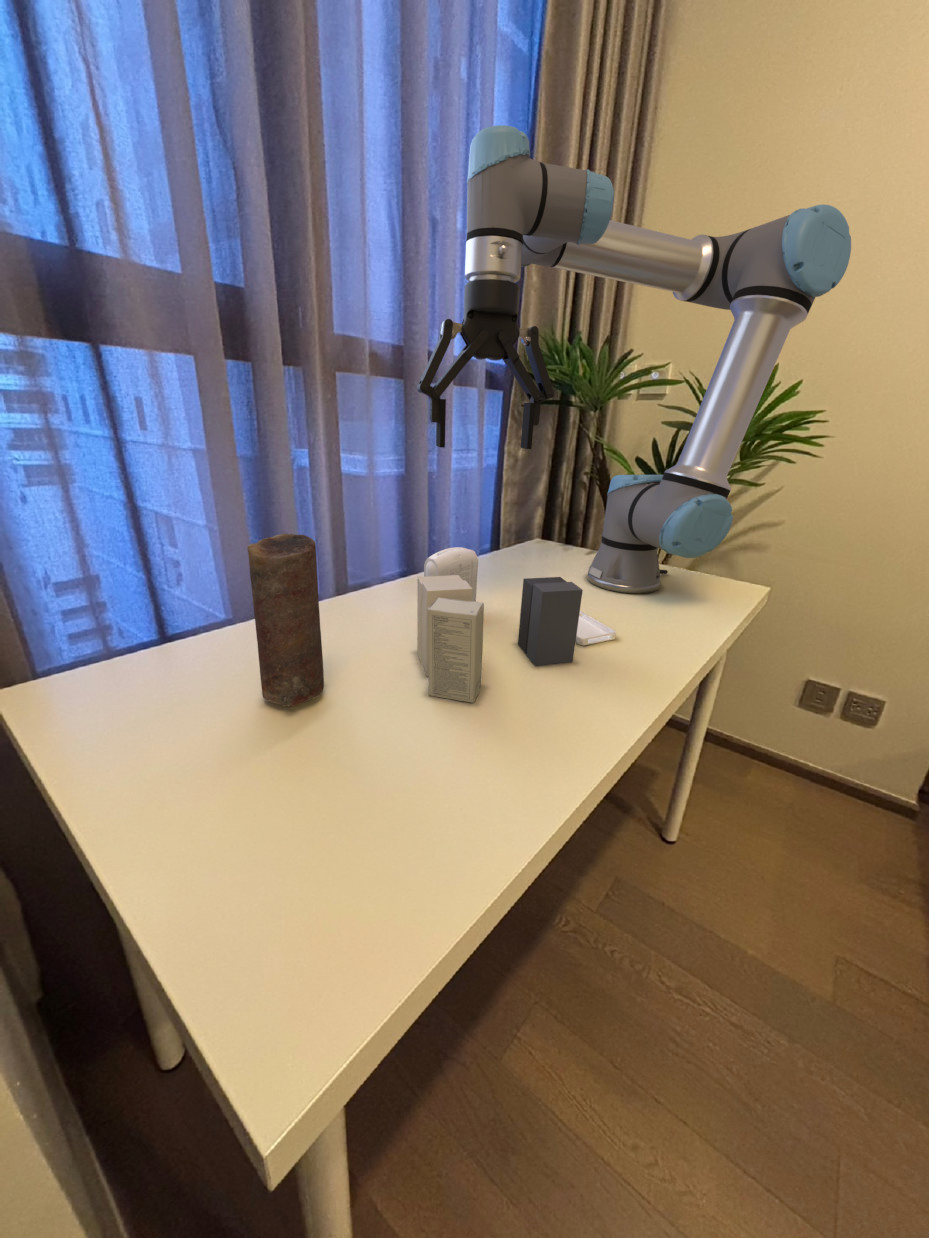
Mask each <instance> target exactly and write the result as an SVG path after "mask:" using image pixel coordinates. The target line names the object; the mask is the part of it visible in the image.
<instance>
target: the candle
mask: <svg viewBox="0 0 929 1238" xmlns="http://www.w3.org/2000/svg"><path fill="white" fill-rule="evenodd" d="M247 556H248V567H249V579H250V586H251V595H252V596H251V597H252V604H253V614H254V623H255V633H256V643H257V653H258V654H257V655H258V665H259V676H260V677H259V678H260V686H261V695H262V698H263V699H264V700H265V701H267V702H270V703H273V704H275V705H279V706H283V707H286V708H291V707H294V706H299V705H301V704H303V703H305V702H309V701H310V700H313V699H315V698H318V697H319V696H321V694H322V692H323V691H324V687H325V679H324V678H325V677H324V676H325V674H324V673H325V672H324V657H323V644H322V643H323V642H322V631H321V616H320V600H319V599H320V598H319V583H318V561H317V546H316V541H315V539H313V538H312V537H310V536H308V535H306V534H294V533H281V534H276V535H273V536H268V537H264V538H261V539H259V540H258V541H256V542H255V543H249V545H247Z"/></svg>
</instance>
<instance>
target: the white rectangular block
mask: <svg viewBox="0 0 929 1238" xmlns="http://www.w3.org/2000/svg"><path fill="white" fill-rule="evenodd" d="M416 589H417V599H416V601H417V602H416V603H417V609H416V611H417V614H416V615H417V619H416V620H417V625H416V631H417V632H416V634H417V635H416V637H417V639H416V640H417V641H416V643H417V644H416V645H417V646H416V647H417V649H416V651H417V656H418V658H419V661H420V664H421V666H422V669H423V672H424V674H425V676H426V677H429V671H428V608H429V607H430V606H431V605H432V604H433V603H434V602H435V601H436V600H437V599H438V598H447V599H456V600H465V601H472V588H471V586H470V585H469V584H468V583H467V581H466V580H462V579H461V578H460V576H459V575H450V576H427V577H424V576H417V588H416Z"/></svg>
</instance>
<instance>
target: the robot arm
mask: <svg viewBox="0 0 929 1238" xmlns="http://www.w3.org/2000/svg"><path fill="white" fill-rule="evenodd" d="M466 187H467V188H466V189H467V191H466V194H467V195H466V196H467V197H466V201H467V202H466V240H465V241H466V242H465V260H464V261H465V262H464V263H465V264H464V278H465V279H466V280H467V282H466V283H465V285H464V288H463V289H464V291H463V292H464V294H463V317H462V318H463V319H462V322H461V323H459V322H455V321H453V320H452V319H451V318H446V319H445V320H443V321H441V323H440V326H439V327H440V328H439V335H438V340H437V342H436V345H435V347H434V348H433V351H432V353H431V355H430V358H429V360H428V361H427V364H426V366H425V368H424V371H423V372H422V375H421V376H420V380H419V381H418V384H417V386H416V390H417V392H418V393H420V394H422V395H425V396H427V397H428V398H429V420H430V423H435V424H436V426H435V427H436V428H435V447H437V448H444V449H445V448H446V419H447V418H446V416H447V406H446V405H447V399H446V398H441V396H442V395H443V394H444V392H446V390H447V389H448V388H449V386H450V385H451V384H452V383H453V381H454V380H455V379H456V377H458V375H459V374H460V372H461V371H462V370H463V368H465V366H466V365H467V364H468V362H470V361H471V359H472V358H475V359H476V360H481V361H482V360H486V359H487V360H490V361H496V362H497V361H501V360H502V361H503V363H504V364H505V365H507V367H508V369H509V370H510V372H511V374H512V375H513V377H514V378H515V380H516V381H517V383H518V385H519V386H520V387H521V390H522V391H523V392H524V394H525V396H526V397H527V399H528V400H529V402H523V412H522V424H521V435H520V437H521V438H520V448H521V449H525V450H532V448H533V435H534V426H539V423H540V418H541V417H540V416H541V406H542V403H544V402H545V401H546V400H549V399H553V397H554V396H555V392H554V391H555V390H554V388H553V385H552V382H551V378H550V375H549V372H548V368H547V366H546V362H545V360H544V356H543V353H542V350H541V347H540V340H539V338H540V333H539V332H540V331H539V328H538V326H536V325H533V326H530V327H521V328H520V327H519V324H518V317H519V304H520V289H521V288H520V287H519V285H518V284H517V283H518V282H519V281H520V280H521V271H522V268H525V267H528V266H530V265H537V266H542V267H546V268H552V269H553V268H554V269H559V270H562V271H563V270H564V271H567V272H573V273H574V272H575V273H578V274H584V275H587V276H592V277H598V278H602V279H608V280H612V281H618V282H622V283H627V284H632V285H638V286H641V287H642V286H643V287H648V288H652V289H657V290H660V291H661V290H662V291H666V292H671V293H672V295H673V297H674V298H675V299H676V300H678V301H681V302H687V303H691V304H696V305H700V306H704V307H709V308H715V309H718V310H719V309H720V310H726V311H730V312H731V314H732V317H733V323H732V325H731V327H730V331H729V333H728V335H727V338H726V340H725V343H724V345H723V348H722V350H721V352H720V354H719V355H720V356H719V358H718V361H717V363H716V365H715V368H714V370H713V373H712V375H711V377H710V380H709V382H708V385H707V388H706V391H705V393H704V396H703V398H702V401H701V403H700V405H699V408H698V410H697V413H696V415H695V418H694V421H693V423H692V426H691V428H690V430H689V433H688V436H687V438H686V439H685V440H686V441H685V443H684V446H683V448H682V450H681V453H680V455H679V458H678V461H677V463H676V464H675V465H673V466H671V467H670V468H668V469H666V470H665V471H664V472H663V474H616V475H614V476H613V477H612V478H611V480H610V482H609V486H608V491H607V494H606V495H607V496H606V497H607V498H606V504H605V506H606V507H605V513H604V520H603V526H602V534H601V541H600V545H599V547H598V549H597V551H596V553H595V556H594V558H593V560H592V562H591V564H590V565H589V567H588V570H587V576H586V577H587V580H588V582H589V583H591V584H592V585H594V586H596V587H599V588H600V589H604V590H609V591H613V592H617V593H623V594H647V593H654V592H656V591H657V590H659V589H660V585H661V580H662V579H661V577H662V576H661V575H667V574H668V569H660V562H659V555H658V549H660V550H662V551H663V552H665V553H666V554H668V555H673V556H678V557H681V558H685V559H697V558H699V557H700V558H701V557H703V556H705V555H706V554H707V553H710V552H713V550H715V549H716V548H718V547H719V546H720V545H721V544H722V542H724V540H725V538H726V537H727V536H728V534H729V532H730V530H731V527H732V524H733V521H734V514H732V512H733V506H732V505H731V503H730V501H729V500H728V498H729V495H730V493H731V491H732V487H731V485H730V483H729V481H728V474H729V472H730V470H731V468H732V466H733V463H734V461H735V459H736V457H737V453H739V452H738V451H739V449H740V447H741V444H742V442H743V440H744V437H745V435H746V434H747V431H748V429H749V426H750V423H751V422H752V420H753V417H754V415H755V412H756V409H757V407H758V405H759V403H760V401H761V398H762V396H763V393H764V391H765V389H766V386H767V384H768V383H769V380H770V378H771V375H772V373H773V370H774V369H775V366H776V364H777V362H778V359H779V357H780V354H781V352H782V350H783V348H784V345H785V343H786V341H787V338H788V336H789V333H790V331H791V330H792V329H793V328H795V327H796V326H798V325H800V324H801V323H804V322H805V321H806V319H807V317H808V315H809V313H810V312H811V311H810V310H811V308H812V306H813V304H814V302H815V299H816V298H819V297H822V296H824V295H825V294H827V293H829V292H830V291H831V290H832V289H834V288H836V286H838V285H839V283H840V282H841V280H842V279H843V277H844V275H845V273H846V272H847V269H848V266H849V264H850V263H849V262H850V259H851V252H852V236H851V234H850V226H849V223H848V221H847V219H846V217H845V216H844V214H843V213H842V212H841V211H840V210H839V209H838V208H836V207H835V206H833V205H831V204H823V203H822V204H816V205H813V206H809V207H806V208H798V209H796V210H794V211H792V212H791V213H790V214H788V215H785V216H782V217H779V218H777V219H774V220H771V221H768V222H766V223H762V224H760V225H757V226H754V227H752V228H748V229H745V230H743V231H738V232H737V233H732V234H728V235H723V236H712V235H707V234H697V235H696V236H694V237H692V238H691V239H690V238H686V237H682V236H678V235H674V234H669V233H665V232H661V231H657V230H652V229H648V228H645V227H640V226H637V225H633V224H628V223H625V222H619V221H615V220H612V219H611V218H612V214H613V210H614V201H615V191H614V185H613V183H612V181H611V179H610V178H609V177H608V176H606V175H604V174H600V173H597V172H594V171H591V170H590V169H589V168H588V169H580V168H574V167H569V166H563V165H559V164H552V163H546V162H542V161H539V160H537V159H532V158H531V151H530V140H529V137H528V135H527V134H526V133H525V132H524V131H521V130H519V129H518V128H517V127H515V126H511V125H492V126H487V127H485V128H482V129H481V130H479V132H477V133H476V135H475V136H474V137H473V138H472V140H471V143H470V147H469V157H468V167H467V179H466ZM458 333H459V334H460V336H461V338H462V340H463V342H464V343H465V345H464V347H463V348H462V349H461V350H460V352H459V353H458V355H457V356H456V358H455V359H454V360H453V361H452V362H451V364H450V365H449V366H448V368H447V369H446V370H445V371H444V372H443V374H442V375H441V377H439V379H438V380H437V382H436V383H434V385H433V386H432V383H433V381H434V378H435V377H436V374H437V372H438V370H439V368H440V366H441V363H442V362H443V360H444V357H445V355H446V353H447V350H448V349H449V346H450V344H451V341H452V340H455V339H456V337H457V334H458ZM519 339H520V343H521V344H522V345H523V346H524V348H525V353H526V357H527V359H528V362H529V365H530V368H531V371H532V375H533V377H534V380H535V382H534V380H533V379H532V377H531V375H530V374H529V371H528V370H527V368H526V367H525V365H524V363H523V361H522V360H521V359H520V355H519V353H518V352H517V350H516V348H515V346H514V345H515V344H516V343H517V341H518V340H519Z"/></svg>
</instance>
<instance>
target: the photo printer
mask: <svg viewBox="0 0 929 1238" xmlns="http://www.w3.org/2000/svg"><path fill="white" fill-rule="evenodd" d="M478 569H479V558H478V555H477V553H476V551H475V550H473V549H469V548H467V547H462V546H459V547H458V546H457V547H448V548H444V549H442V550H439V551H438V552H435V553H433V554H432V555H429V556H428V557H427V558H426V559H425V561H424V565H423V577H427V576H450V575H459V576H460V578H461V579H462V580H466V581H467V583H468V584H469V585H470V586H471V588H472V601H473V602H477V589H478V588H477V587H478V573H479V572H478Z"/></svg>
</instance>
